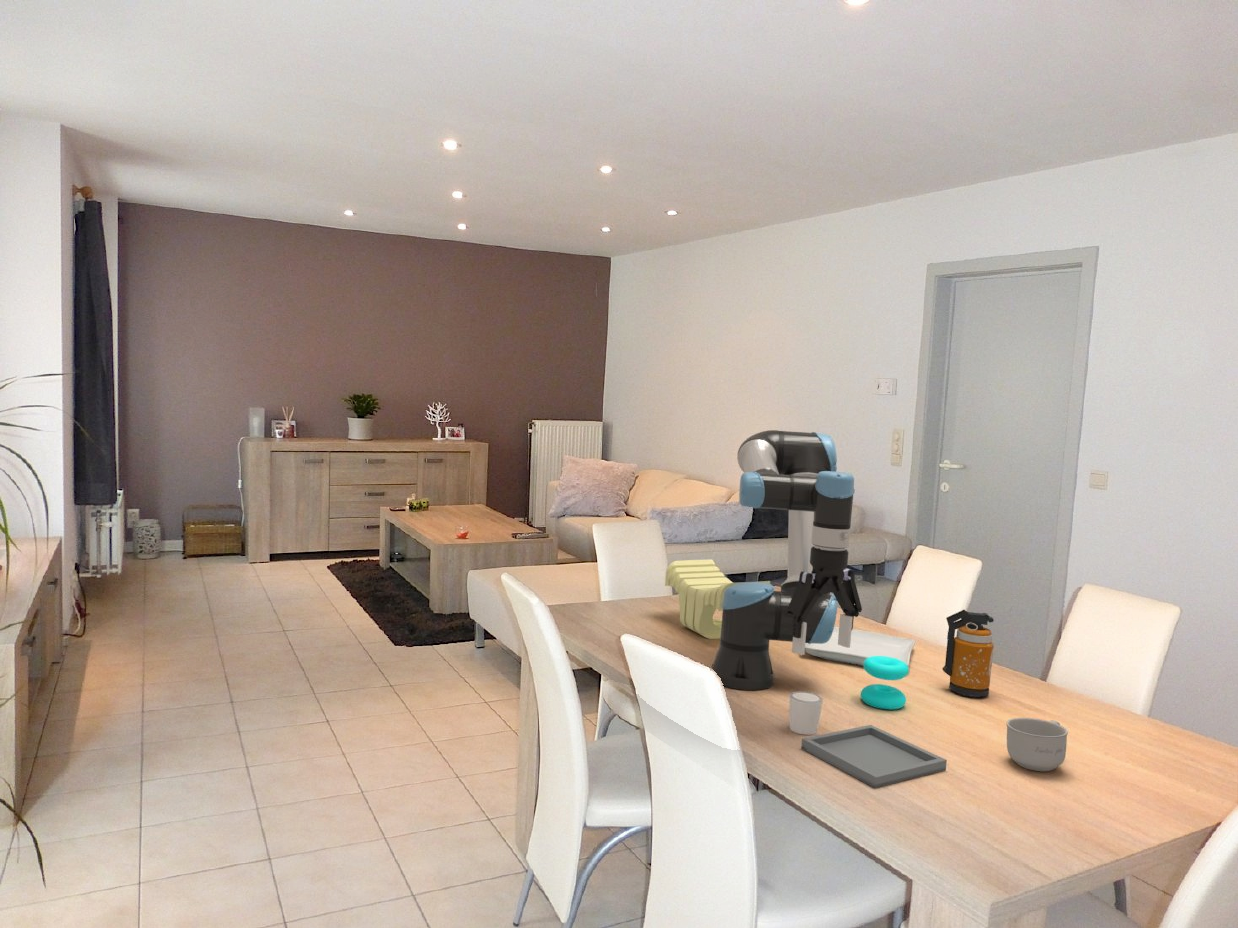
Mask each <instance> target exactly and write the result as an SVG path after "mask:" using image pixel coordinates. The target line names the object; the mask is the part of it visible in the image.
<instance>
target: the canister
mask: <svg viewBox="0 0 1238 928" xmlns="http://www.w3.org/2000/svg"><path fill="white" fill-rule="evenodd" d="M945 619H946V621H947V622H946V623H947V626H948V631H947V638H946V639H947V641H946V642H947V643H946V652H945V653H946V654H945V662H944V665H943V667H942V669H941V670H942V671H943V673H945V674H947V675H948V676H949V683H948V684H949V685H948V686H949V687H948V688H949V690H952V691H953V692H955V693H957V694H958V695H960V694H961V695H960V696H963V695H964V697H968V696H969V698H981V696H982V697H986V696H988V695H989V694H990V685H991V677H992V676H991V674H992V666H993V655H994V645H995V644H994V643H993V641H992V640H993V639H992V638H993V633H992V631H991V629H989V628H987V627H984V626H988V623H994V621H995V620H994V618H993V616H990V615H989V614H988V613H987V612H982V613H981V612H972V611H971V612H970V611H967V610H966V609H962V610H960V611H958V612H956V613H954V614H951V615H949V616H947V617H946V618H945ZM955 635H956V636H955Z"/></svg>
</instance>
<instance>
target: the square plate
mask: <svg viewBox="0 0 1238 928" xmlns="http://www.w3.org/2000/svg"><path fill="white" fill-rule="evenodd" d="M838 635H839V626H834V629H833V633H832V636H831V638H830V640H829V641H828V642H826V643H824V644H817V643H811V644H808V643H805V652H806V654H809V655H811V656H813V657H816V658H817V657H819V658H821V659H824V660H827V661H834V662H839V663H844V662H846V663H845V664H850V663H851V664H852V665H856V664H858V665H857V666H862V667H863V663H864V661H865V659H867V658H868V657H872V656H886V657H892V658H896V659H899V660H901V661H903V662H904V663H906V664H907V666H908V667H909V665H910V661H911V655H912V651H913V649H914V646H916V640H915V639H913V638H911V639H910V638H906V637H903V636H902V637H901V636H895V635H891V634H885V633H880V632H874V631H870V630H869V631H867V630H861V629H856V628H855V629H854V628H853V629H852V630H851V642H850V648H847V647H844V646H841V645H838Z"/></svg>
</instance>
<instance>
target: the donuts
mask: <svg viewBox="0 0 1238 928" xmlns="http://www.w3.org/2000/svg"><path fill="white" fill-rule="evenodd" d="M862 667H863V669H864V671H865V672H866V673H867V674H868V675H870V676H871V677H874V678H876V679H880V680H885V681H899V680H903V679H904V678H906V677H907V675H908V674H909V672H910V669H909V668H910V667H909V665H908V666H907V664H906V663H904V662H903V661H901V660H899V659H896V658H892V657H886V656H872V657H868V658H867V659H865V661H864V663H863V666H862ZM860 698H861V700H862V701H863V702H864V703H865V704H867V705H868V706H870V707H874V708H877V709H882V710H898V709H901V708H903V707H904V706H905V705H906V703H907V698H906V695H905V694H904V693H903V692H902V690H900V689H898V688H896V687H894V686H892V685H888V684H880V683H879V684H878V683H875V684H874V683H873V684H869V685H866V686H865V687H863V688H862V689H861V691H860Z"/></svg>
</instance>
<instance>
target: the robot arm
mask: <svg viewBox="0 0 1238 928" xmlns="http://www.w3.org/2000/svg"><path fill="white" fill-rule="evenodd" d="M837 459H838V458H837V451H836V446H835V442H834V440H833V438H832V437H831V436H830V435H828V434H826V433H818V432H816V431H815V432H814V431H812V432H805V431H804V432H803V431H789V430H788V431H786V430H773V429H770V430H763V431H760V432H757V433H755V434H753V435H751V436H749V437H748V438H746V439H745V440H744V441H742V443H741V445H740V446H739V448H738V450H737V464H738V466H739V468H740V470H741V471H742V472H743V473H742V474H741V476H740V481H739V490H738V491H739V493H738V499H739V500H738V502H739V504H740V505H741V506H743V507H748V508H753V509H769V510H782V511H783V510H786V511H788V529H787V530H788V532H787V533H788V534H787V537H788V538H787V540H788V543H787V547H788V548H787V578H786V580H784V581H783V583H781V585H780V590H779V591H778V590H775V588H774V585H772V584H771V583H770V584H768V583H761V582H760V581H745V582H746V583H739V582H738V583H739V584H735V585H732V586H730V587H728V588H727V589H726V590H725V593H724V599H723V604H722V608H723V611H722V616H721V619H722V625H721V637H720V638H719V640H720V641H719V647H718V650H717V652H716V655H715V658H714V661H713V663H712V665H711V666H710V669H711V668H712V669H713V670H714V671H715V672H716V673H717V675H718V676H719V677H720V678H721V681H722V683H723V684H724V686H723V687H725V688H730V689H734V690H735V689H736V690H741V691H742V690H743V691H760V690H765V689H770V688H771V687H772V686H774V681H775V673H774V670H773V664H772V660H771V656H770V651H769V649H770V641H779V642H791V643H792V647H791V652H792V653H794V654H797V655H800V656H803V655H804V656H805V652H806V651H805V643H808V644H811V643H817V644H824V643H826V642H828V641H829V640H830V638H831V636H832V633H833V629H834V627H835V624H836V619H837V614H838V606H839V607H840V609H841V611H842V612H843V613H839V624H838V625H839V626H838V627H839V635H838V645H841V646H844V647H847V648H850V642H851V630H852V629H854V617H856V618H857V617H859V615H860V614H859V613H862V611H863V606H862V604H861V600H860V596H859V592H858V588H857V585H856V581H855V575H856V573H855V570H854V569H851V568H848V562H849V551H848V548H849V547H850V535H851V534H850V533H851V532H850V531H851V524H852V523H851V522H852V514H853V513H852V512H853V500H854V494H855V477H854V475H853V474H851V473H849V472H842V471H837V469H838V468H837V462H838V460H837Z"/></svg>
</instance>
